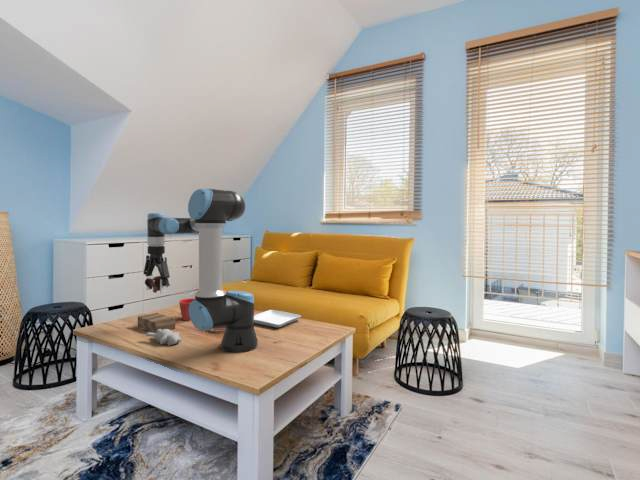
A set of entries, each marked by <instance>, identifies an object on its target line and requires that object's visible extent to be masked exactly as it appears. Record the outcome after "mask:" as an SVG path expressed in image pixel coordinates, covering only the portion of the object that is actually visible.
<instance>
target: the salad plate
mask: <svg viewBox="0 0 640 480" xmlns="http://www.w3.org/2000/svg"><path fill="white" fill-rule="evenodd" d="M301 317H302V315H301V314H296V313H292V312H286V311H283V310H275V309H269V310H268V309H267V310H266V311H262V312H260V313H256V314H254V324H256V325H261V326H265V327H271V328H281V327H284V326H286V325H289V324H291V323H293V322H296V321H297V320H299V319H301Z"/></svg>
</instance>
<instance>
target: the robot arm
mask: <svg viewBox="0 0 640 480" xmlns="http://www.w3.org/2000/svg"><path fill="white" fill-rule="evenodd" d="M245 211H246V202H245V200H244V197H243V196H242V195H241V194H239V193H238V192H236V191H233V190H224V189H215V188H214V189H213V188H198V189H196V190H195V191H193V193H192V194H191V195H190V197H189V200H188V204H187V212H188V215H189V217H166V216H165V214H164V213H163V212H162V213H159V212H149V213H148V214H147V220H146V222H147V223H146V225H147V238H146V240H147V245H148V246H147V255H146V256H145V264H144V268H143V275H145V277H146V279H148V278H150V279H153V278H154V277H153V272H154V270H155V267H156V268H157V270H158V274H159V276H161V278H160V290H159V294H165V293H167V288H166V285H167V284H166V282H167V278H168V279H169V278H170V277H171V276H170V270H169V266H168V263H167V261H168V259H167V257H166V256H164V257H163V255H164V254H165V252H166V251H165V250H166V246H165V242H166V238H165V237H166V236H165V235H183V234H187V235H188V234H189V235H190V234H194V235H198V291H197V292H195V294H194V299H195V300H193V301H192V302H191V303H190V305H189V316H190V319H191V321H190V322H191V323H192V325H193V326H194V328H196V329H197V330H200V331H204V330H212V329H215V328H220V327H225V329H224V333H223V335H222V339H221V341H220V348H221V349H222V350H223V351H226V352H230V353H243V352H248V351H252V350H254V349H257V347H258V346H259V344H258V338H257V334H256V330H255V326H254V324H255V323H254V315H255V297H254V294H253V293H251V292H248V291H243V290H227V291H224V289H223V270H222V269H223V246H222V245H223V227H225V226H226V223H227V222H232V221H235V220H237V219H240V218H241V217H242V216H243V215H244V213H245ZM146 279H145V280H146ZM145 285H146V284H145ZM149 290H153V287H152V289H149V287H148V286H147V285H146V291H149Z"/></svg>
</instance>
